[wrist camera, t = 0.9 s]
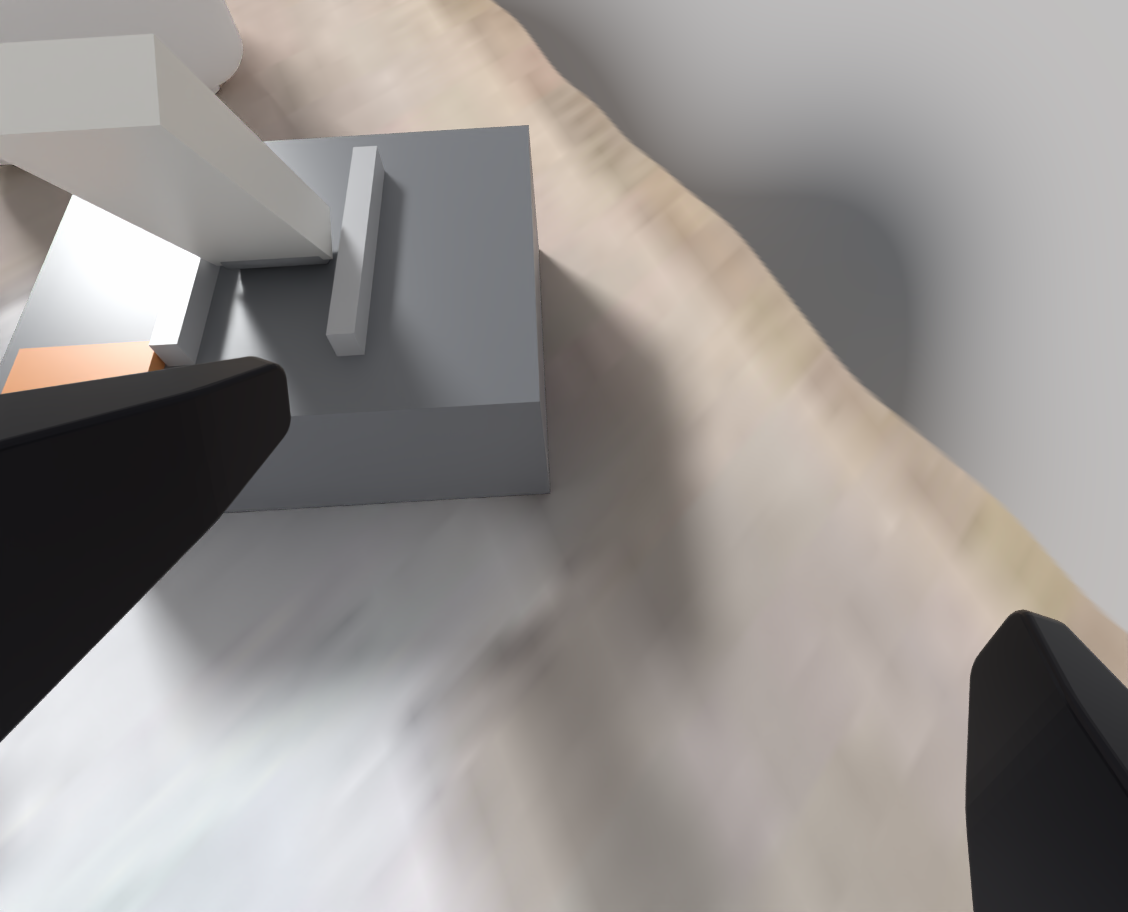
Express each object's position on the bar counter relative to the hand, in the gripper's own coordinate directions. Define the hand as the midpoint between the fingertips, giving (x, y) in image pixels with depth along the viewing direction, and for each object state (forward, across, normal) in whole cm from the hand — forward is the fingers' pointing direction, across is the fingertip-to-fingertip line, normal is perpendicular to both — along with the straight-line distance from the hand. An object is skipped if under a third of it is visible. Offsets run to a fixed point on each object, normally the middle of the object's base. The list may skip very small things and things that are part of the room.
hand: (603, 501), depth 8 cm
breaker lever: (+11, +14, +3) cm, 18 cm away
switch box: (+14, +14, +9) cm, 22 cm away
